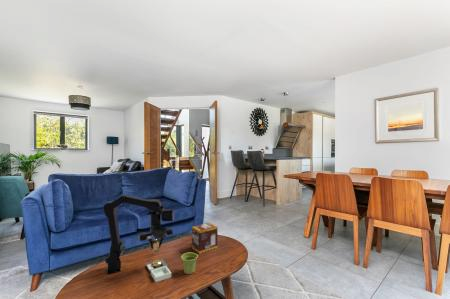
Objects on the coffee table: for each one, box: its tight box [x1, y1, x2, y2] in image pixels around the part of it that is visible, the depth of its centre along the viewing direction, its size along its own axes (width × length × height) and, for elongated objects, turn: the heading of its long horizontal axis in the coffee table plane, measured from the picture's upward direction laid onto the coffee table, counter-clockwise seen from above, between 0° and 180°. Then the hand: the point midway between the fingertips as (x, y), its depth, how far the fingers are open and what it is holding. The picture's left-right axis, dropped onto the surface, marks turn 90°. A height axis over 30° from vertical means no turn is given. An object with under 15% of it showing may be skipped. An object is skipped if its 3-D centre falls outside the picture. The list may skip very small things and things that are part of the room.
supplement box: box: [191, 222, 218, 254], centre depth 156 cm, size 10×15×16 cm
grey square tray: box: [145, 259, 169, 274], centre depth 130 cm, size 10×10×1 cm
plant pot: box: [180, 252, 199, 275], centre depth 125 cm, size 9×9×9 cm
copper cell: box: [151, 238, 160, 254], centre depth 128 cm, size 4×4×7 cm
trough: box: [150, 266, 172, 283], centre depth 121 cm, size 9×9×2 cm
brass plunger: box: [151, 259, 162, 268], centre depth 130 cm, size 5×5×2 cm
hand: (155, 248), depth 128 cm, fingers closed on copper cell, 4 cm apart
